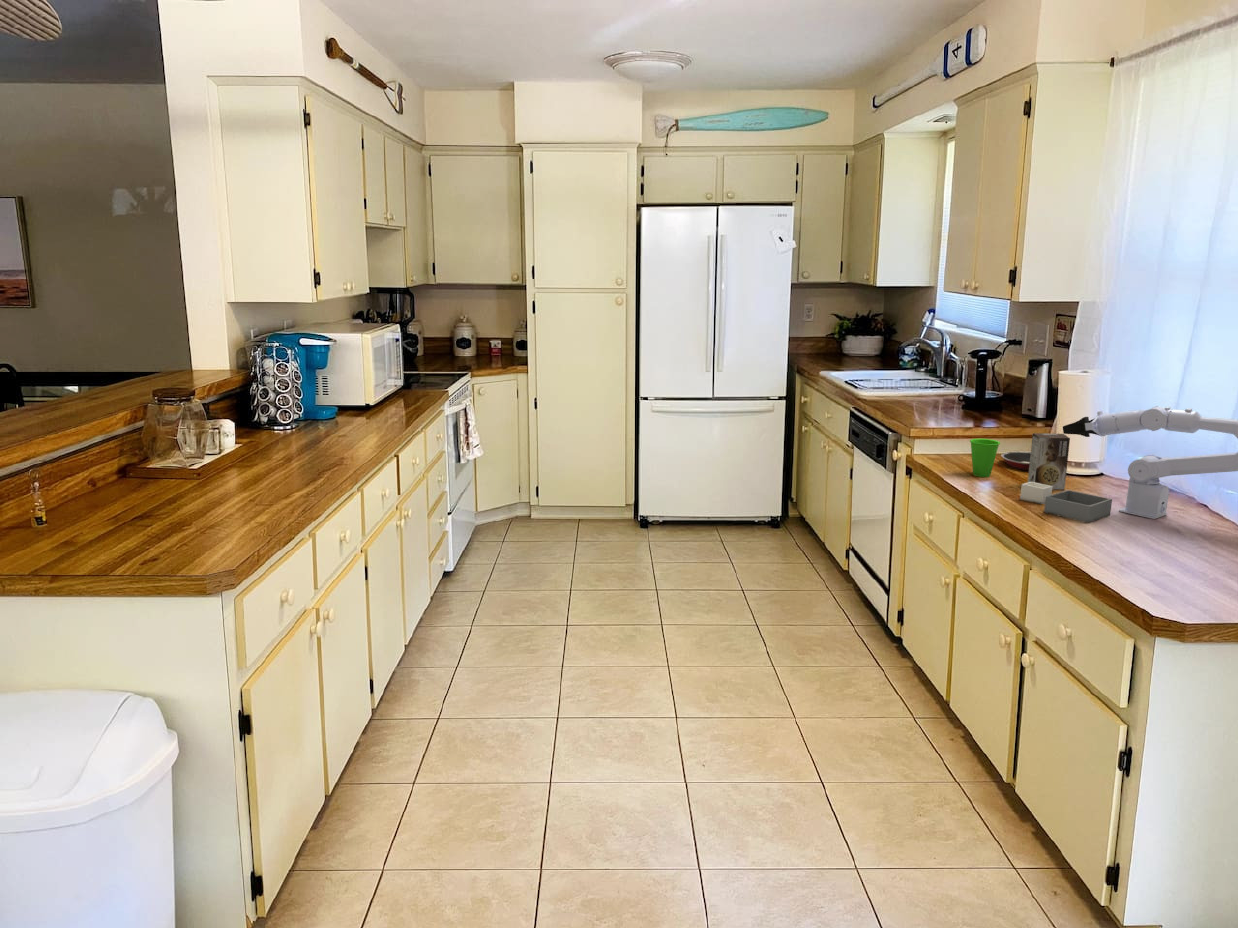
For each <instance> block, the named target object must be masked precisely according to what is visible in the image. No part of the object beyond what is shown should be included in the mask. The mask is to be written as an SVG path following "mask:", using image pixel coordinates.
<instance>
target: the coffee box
mask: <svg viewBox="0 0 1238 928" xmlns="http://www.w3.org/2000/svg"><path fill="white" fill-rule="evenodd" d="M1031 437H1032V440H1031V447H1030V448H1031V449H1030V452H1031V456H1030V466H1029V471H1028V476H1027V483H1028V482H1035V483H1040V484H1044V485H1049V486H1053V487H1052V490H1055V491H1056V490H1060V491H1061V490H1063V491H1065V490H1066V489H1065V488H1066V479H1067V469H1068V460H1069V450H1070V441H1071V438H1070V437H1069V436H1067V434H1064V433H1039V432H1038V433H1037V432H1035V433H1032V436H1031Z"/></svg>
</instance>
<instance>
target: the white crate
mask: <svg viewBox="0 0 1238 928" xmlns="http://www.w3.org/2000/svg"><path fill="white" fill-rule="evenodd" d="M1020 487H1021V489H1020V496H1019V497H1020V499H1019V500H1023V501H1024V502H1031V503H1034V502H1035V504H1040V505H1045V499H1046V496H1050V495H1053V489H1052V487H1053V486H1049V485H1044V484H1040V483H1035V482H1028V481H1027V482H1024V483H1022V484H1021V486H1020Z"/></svg>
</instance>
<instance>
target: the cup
mask: <svg viewBox="0 0 1238 928" xmlns="http://www.w3.org/2000/svg"><path fill="white" fill-rule="evenodd" d="M969 442H970V447H971V448H970V449H971V450H970V451H971V464H972V474H973V476H975V477H980V478H981V477H982V478H989V477H990V476H991V474H992V471H993V466H994V465H995V464H994V463H995V461H996V456H997V453H998V449H999V447H1000V446H999V445H1001V442H1000V441H999V440H995V439H990V438H971V439H970V440H969Z"/></svg>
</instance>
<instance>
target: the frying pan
mask: <svg viewBox="0 0 1238 928" xmlns="http://www.w3.org/2000/svg"><path fill="white" fill-rule="evenodd" d="M1030 456H1031V451H1006V452H1003V453H1001V455H1000V457H1001V458H1002V459H1003V461H1004V462H1005V463H1006V464H1007V465H1008V466H1009V467H1011V468H1014V469H1017V470H1020V471H1021V470H1022V471H1028V472H1029V466H1030Z"/></svg>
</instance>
